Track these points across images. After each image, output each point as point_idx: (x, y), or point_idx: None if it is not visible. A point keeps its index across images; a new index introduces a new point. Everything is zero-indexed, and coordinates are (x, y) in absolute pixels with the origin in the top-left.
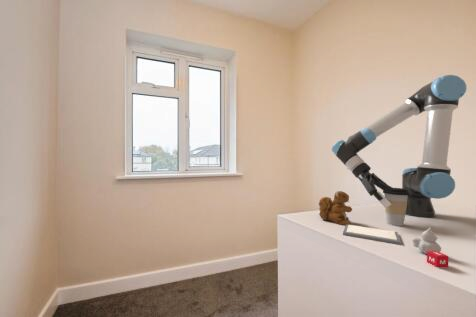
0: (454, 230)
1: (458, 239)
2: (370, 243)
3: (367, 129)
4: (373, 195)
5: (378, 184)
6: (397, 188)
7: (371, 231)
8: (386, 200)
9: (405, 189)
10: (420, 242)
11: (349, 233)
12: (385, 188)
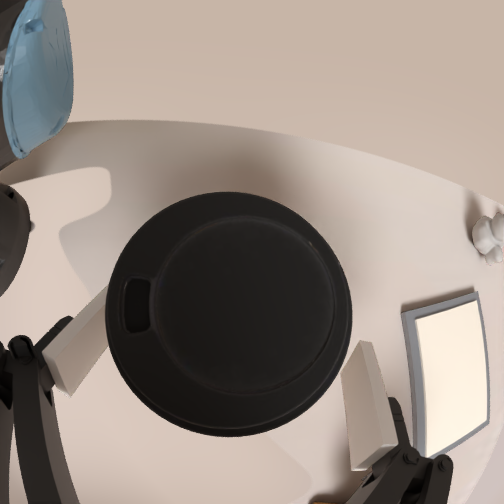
0: (187, 150)
1: (309, 158)
2: (500, 350)
3: None
4: (365, 468)
5: (65, 481)
6: (156, 285)
7: (458, 375)
8: (377, 370)
9: (226, 206)
10: (501, 247)
11: (489, 409)
12: (277, 418)
